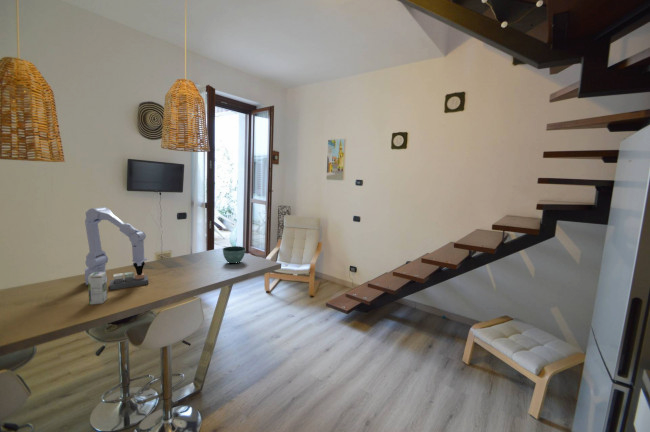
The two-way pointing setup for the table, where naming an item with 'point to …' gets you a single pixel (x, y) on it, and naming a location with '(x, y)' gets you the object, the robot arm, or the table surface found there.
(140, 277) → the terracotta key
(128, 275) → the sage key
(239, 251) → the flower pot
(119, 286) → the keypad plate
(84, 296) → the table surface
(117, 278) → the ivory key
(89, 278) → the syrup box
